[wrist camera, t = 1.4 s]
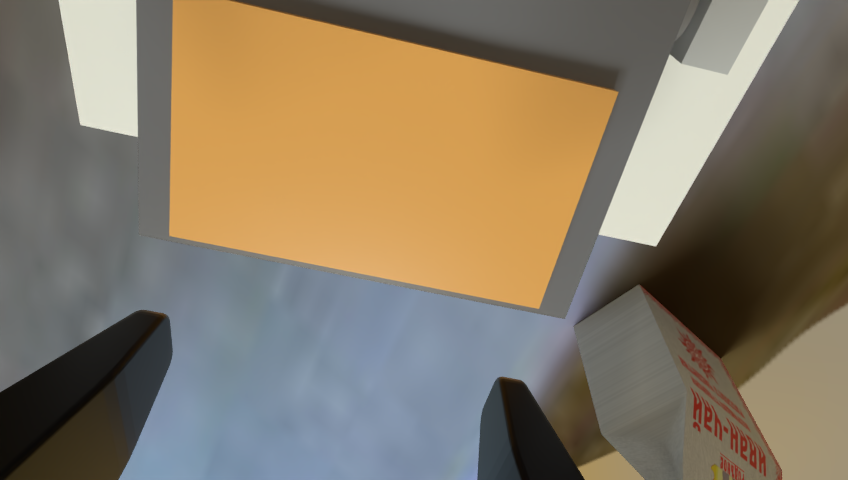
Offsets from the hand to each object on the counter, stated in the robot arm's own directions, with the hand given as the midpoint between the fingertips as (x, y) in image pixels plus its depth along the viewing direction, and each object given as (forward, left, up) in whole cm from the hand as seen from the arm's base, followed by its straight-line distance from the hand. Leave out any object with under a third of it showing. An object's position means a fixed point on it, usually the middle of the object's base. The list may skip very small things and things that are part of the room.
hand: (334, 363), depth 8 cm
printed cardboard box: (-10, -14, -13) cm, 22 cm away
